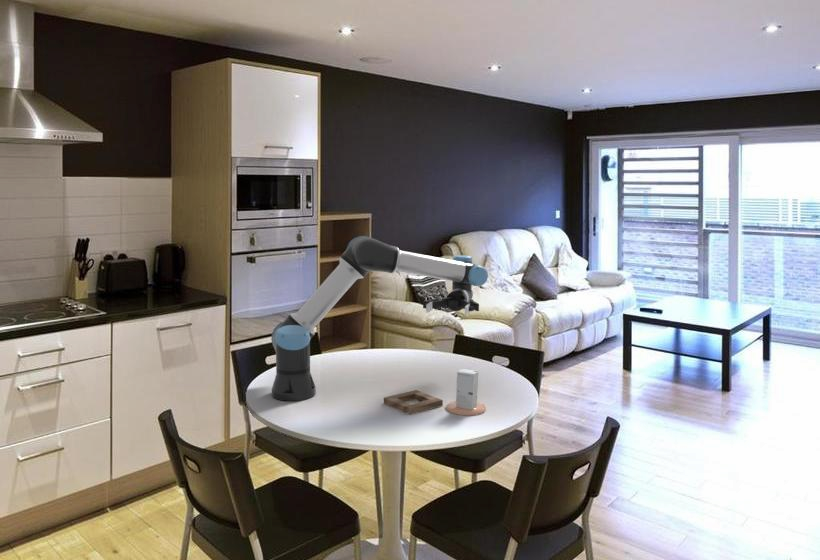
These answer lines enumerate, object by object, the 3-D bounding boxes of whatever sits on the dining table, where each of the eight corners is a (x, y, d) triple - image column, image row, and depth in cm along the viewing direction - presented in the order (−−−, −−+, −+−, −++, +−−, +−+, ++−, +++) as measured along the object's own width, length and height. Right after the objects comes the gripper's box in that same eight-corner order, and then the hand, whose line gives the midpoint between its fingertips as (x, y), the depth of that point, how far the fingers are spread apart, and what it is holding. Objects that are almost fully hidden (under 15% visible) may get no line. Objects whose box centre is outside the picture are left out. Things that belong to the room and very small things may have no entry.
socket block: (383, 403, 221) (383, 397, 221) (415, 395, 230) (415, 389, 229) (409, 414, 210) (409, 408, 210) (442, 405, 219) (442, 399, 219)
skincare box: (455, 407, 215) (455, 371, 214) (460, 403, 219) (461, 368, 218) (472, 410, 213) (473, 374, 211) (478, 406, 216) (478, 370, 215)
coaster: (437, 407, 217) (437, 405, 217) (466, 399, 225) (466, 398, 225) (465, 418, 207) (465, 416, 207) (494, 409, 215) (494, 408, 215)
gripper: (490, 311, 245) (482, 322, 225) (425, 307, 252) (411, 318, 231) (490, 291, 244) (482, 300, 224) (425, 288, 250) (411, 297, 230)
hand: (446, 309), depth 228 cm, fingers open, 13 cm apart
